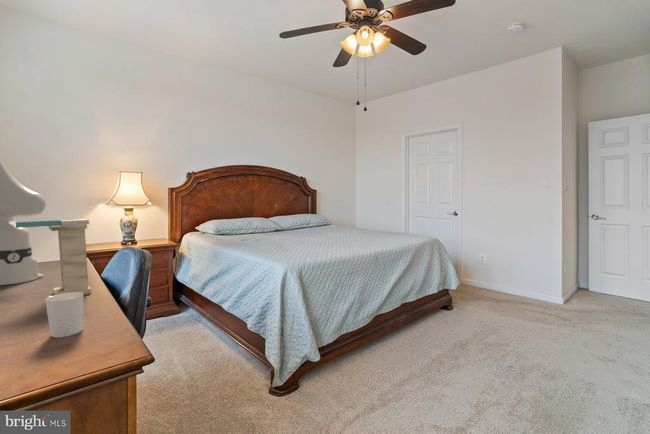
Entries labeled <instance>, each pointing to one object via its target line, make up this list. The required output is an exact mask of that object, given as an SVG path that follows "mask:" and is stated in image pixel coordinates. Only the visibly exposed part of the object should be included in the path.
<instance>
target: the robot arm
mask: <svg viewBox="0 0 650 434" xmlns="http://www.w3.org/2000/svg"><path fill="white" fill-rule="evenodd" d="M45 208H46V200H45V197H44V196H43V195H42V194H41V193H38V192H36V191H33V190H31V189H30V188H28V187H26V186H25V185H23V184H22V183H20V181H18V180H17V179H16V178H14V176H13V175H12V174H11V172H10V171H9V170H8V168H7V166H5V164H4V162H3V161H2V159H1V158H0V286H4V285H5V286H6V285H14V284H15V285H16V284H21V283H26V282H31V281H34V280H37V279H41V278H45V276H44V275H45V274H43V273H40V272H39V268H38V267H39V266H38V260H37V259H36V258H35V257H33V256H32V255H33V249H32V247H31V242H30V241H31V240H30V231H29V229H28V227H23V228H16V222H18V221H17V220H16V218H18V217H21V218H22V217H25V218H26V217H32V216H37V215H40V214H42V213H43V212H44V210H45Z"/></svg>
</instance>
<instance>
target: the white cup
mask: <svg viewBox="0 0 650 434" xmlns="http://www.w3.org/2000/svg"><path fill="white" fill-rule="evenodd" d="M44 300H45V306H46V315H47V320H48V326H49V330H50V335H51V338H56V339H57V338H58V339H59V338H66V337H71V336H74V335H77V334H79V333H81V332H82V331H83V330H84V295H83V293H82V292H67V293H61V294H56V295H54V294H53V295H50V296H48V297H46V298H45V299H44Z"/></svg>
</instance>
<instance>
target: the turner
mask: <svg viewBox="0 0 650 434" xmlns="http://www.w3.org/2000/svg"><path fill="white" fill-rule="evenodd" d="M84 224H86V225H90V220H89V219H87V218H81V219H79V218H78V219H57V220H56V219H54V220H37V221H35V220H34V221H17V222H16V228H23V227H25V228H35V227H36V228H38V227H40V228H41V227H49V226H58V225H61V226H67V225H84Z"/></svg>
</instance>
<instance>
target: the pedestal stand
mask: <svg viewBox="0 0 650 434" xmlns="http://www.w3.org/2000/svg"><path fill="white" fill-rule="evenodd" d="M48 229H49V230H50V231H51V232H56V231H57V233H58V234H57V236H58V246H59V247H58V249H59V250H58V251H59V261H60V262H59V263H60V265H59V266H60V277H61V286H56V287H52V293H53V295H56V294H61V293H67V292H82V293H83V296H86V295H90V294H92V288H91V287H90V286H89V276H88V275H89V273H88V259H87V243H86V242H87V241H86V230H87V229H88V224H84V225H67V226H61V225H58V226H48Z"/></svg>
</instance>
